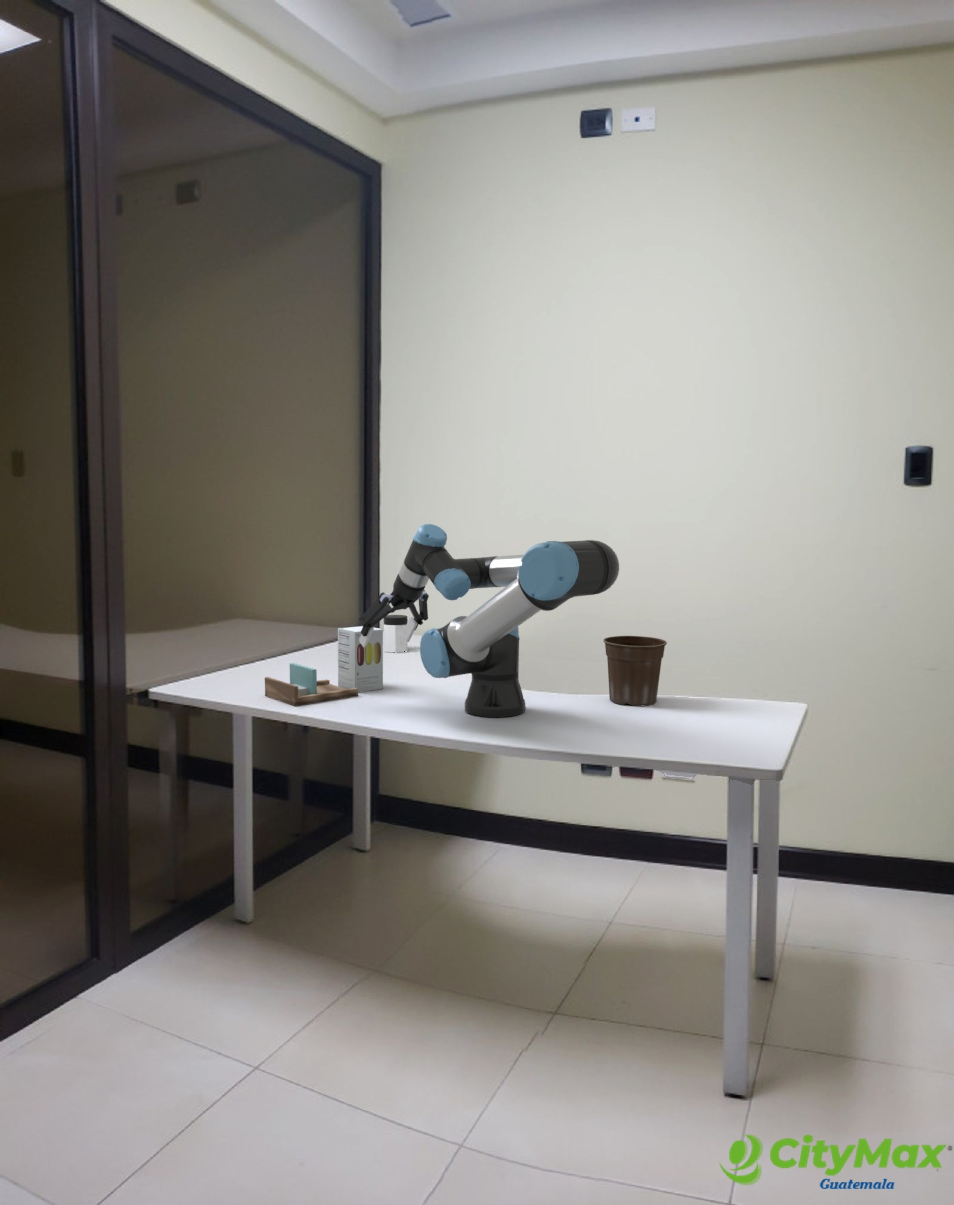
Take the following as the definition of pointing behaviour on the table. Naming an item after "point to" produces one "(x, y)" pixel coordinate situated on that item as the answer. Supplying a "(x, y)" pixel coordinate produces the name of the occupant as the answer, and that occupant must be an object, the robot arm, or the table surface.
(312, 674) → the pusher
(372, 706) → the table surface
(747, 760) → the table surface
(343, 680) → the supplement box
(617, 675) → the plant pot
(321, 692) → the lane
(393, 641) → the jar
